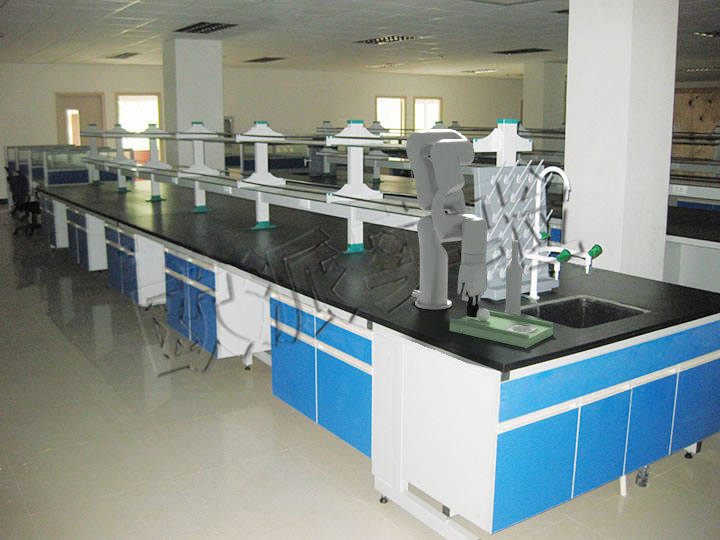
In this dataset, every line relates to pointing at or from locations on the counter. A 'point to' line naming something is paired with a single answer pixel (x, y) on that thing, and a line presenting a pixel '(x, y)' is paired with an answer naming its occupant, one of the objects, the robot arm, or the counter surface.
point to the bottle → (513, 283)
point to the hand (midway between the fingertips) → (472, 316)
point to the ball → (483, 314)
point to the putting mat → (504, 328)
